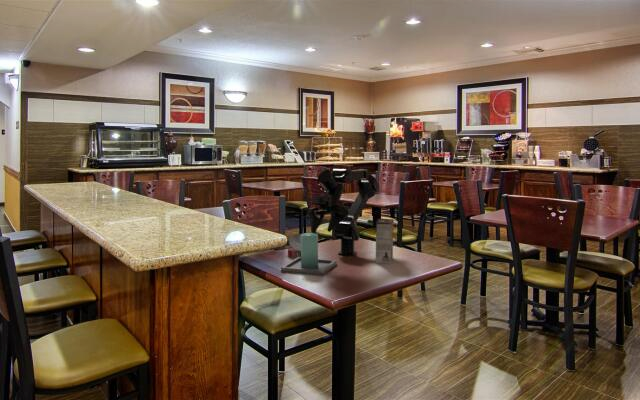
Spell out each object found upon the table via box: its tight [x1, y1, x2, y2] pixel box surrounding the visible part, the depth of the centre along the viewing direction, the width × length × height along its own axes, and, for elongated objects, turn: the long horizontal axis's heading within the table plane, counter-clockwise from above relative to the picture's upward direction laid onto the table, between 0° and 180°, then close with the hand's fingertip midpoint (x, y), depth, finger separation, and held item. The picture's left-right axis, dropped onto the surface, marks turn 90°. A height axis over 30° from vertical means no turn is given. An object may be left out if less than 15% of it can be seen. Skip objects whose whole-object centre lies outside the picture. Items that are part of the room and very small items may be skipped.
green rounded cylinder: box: [301, 232, 319, 269], centre depth 171 cm, size 6×6×12 cm
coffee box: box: [375, 218, 394, 264], centre depth 181 cm, size 9×6×16 cm
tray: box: [280, 257, 338, 277], centre depth 172 cm, size 16×16×2 cm
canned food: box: [287, 233, 302, 259], centre depth 191 cm, size 11×10×10 cm
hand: (320, 231), depth 175 cm, fingers open, 9 cm apart
